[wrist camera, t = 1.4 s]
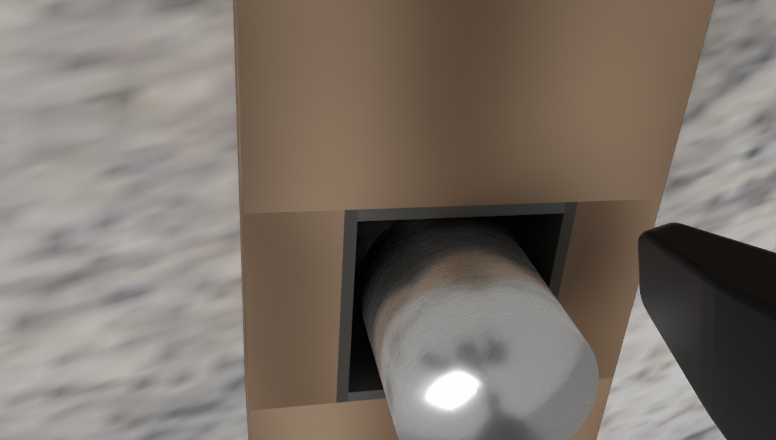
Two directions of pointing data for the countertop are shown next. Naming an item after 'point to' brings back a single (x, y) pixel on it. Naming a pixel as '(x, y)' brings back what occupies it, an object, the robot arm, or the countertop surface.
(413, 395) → the steel peg
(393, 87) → the walnut block
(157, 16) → the countertop surface
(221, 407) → the countertop surface
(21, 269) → the countertop surface
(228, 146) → the countertop surface
